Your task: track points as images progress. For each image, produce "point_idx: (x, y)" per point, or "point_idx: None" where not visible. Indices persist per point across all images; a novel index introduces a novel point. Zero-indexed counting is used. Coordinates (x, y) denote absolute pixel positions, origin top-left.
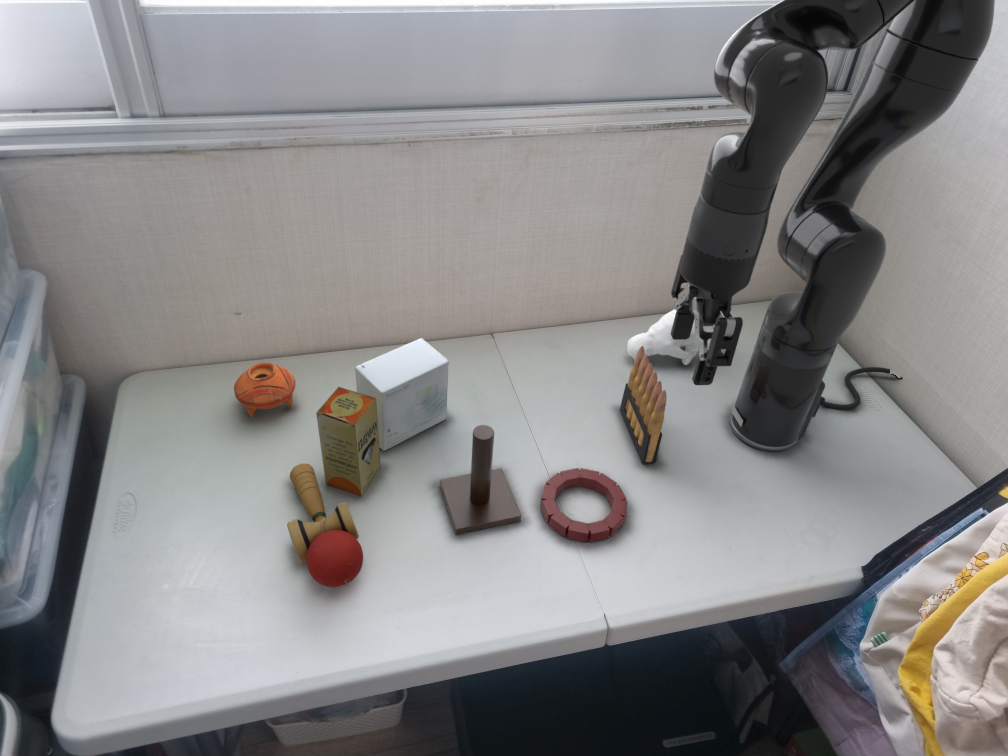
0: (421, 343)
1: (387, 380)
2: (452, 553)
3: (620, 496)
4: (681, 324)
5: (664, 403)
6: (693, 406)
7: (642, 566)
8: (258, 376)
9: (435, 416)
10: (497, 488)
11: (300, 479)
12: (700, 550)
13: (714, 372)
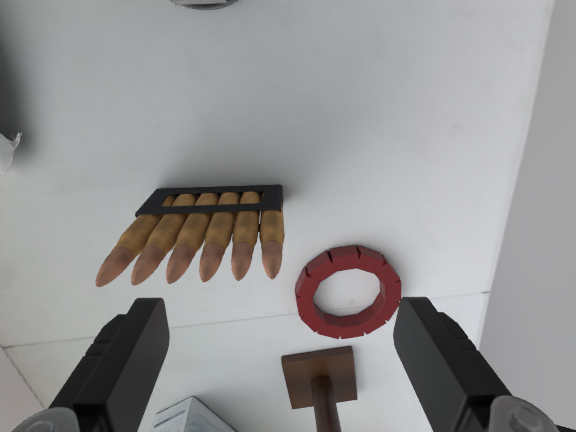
0: None
1: None
2: (374, 394)
3: (353, 260)
4: (143, 388)
5: (281, 257)
6: (137, 69)
7: (442, 245)
8: None
9: (202, 418)
10: (311, 369)
11: None
12: (444, 169)
13: (482, 361)
